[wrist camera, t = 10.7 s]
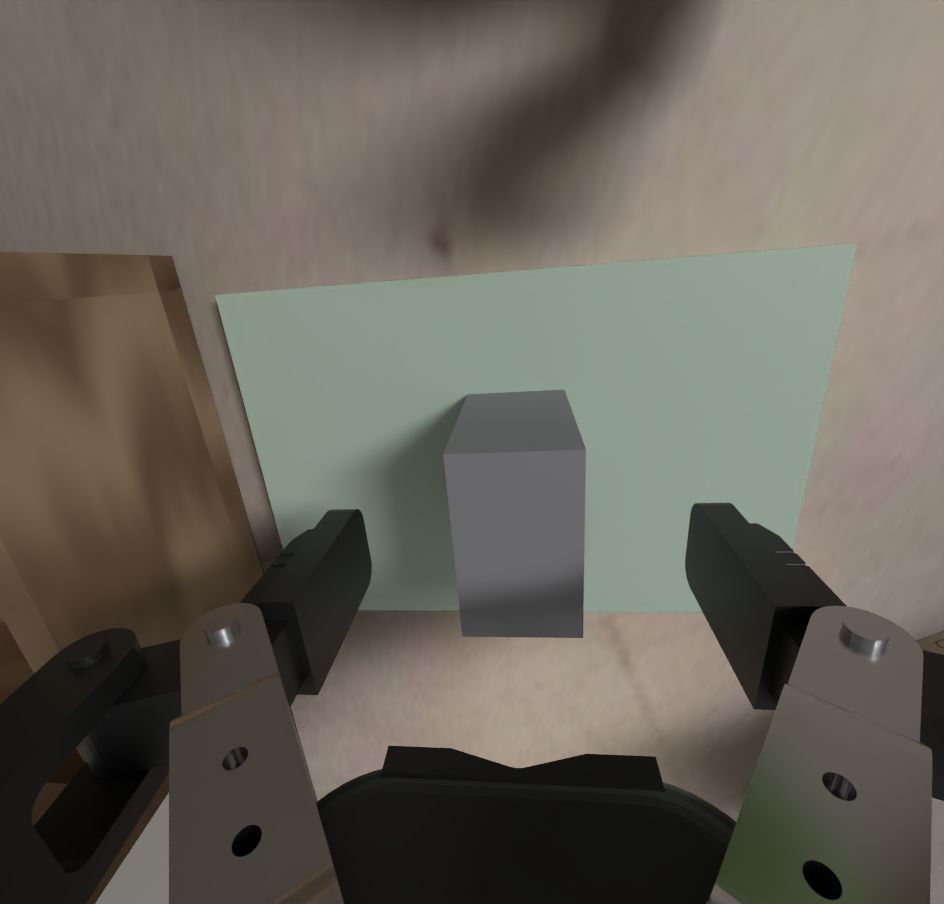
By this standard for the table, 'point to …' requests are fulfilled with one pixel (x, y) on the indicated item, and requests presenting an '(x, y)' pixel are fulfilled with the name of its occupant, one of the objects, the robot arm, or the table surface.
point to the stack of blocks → (933, 643)
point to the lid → (542, 423)
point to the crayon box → (107, 471)
